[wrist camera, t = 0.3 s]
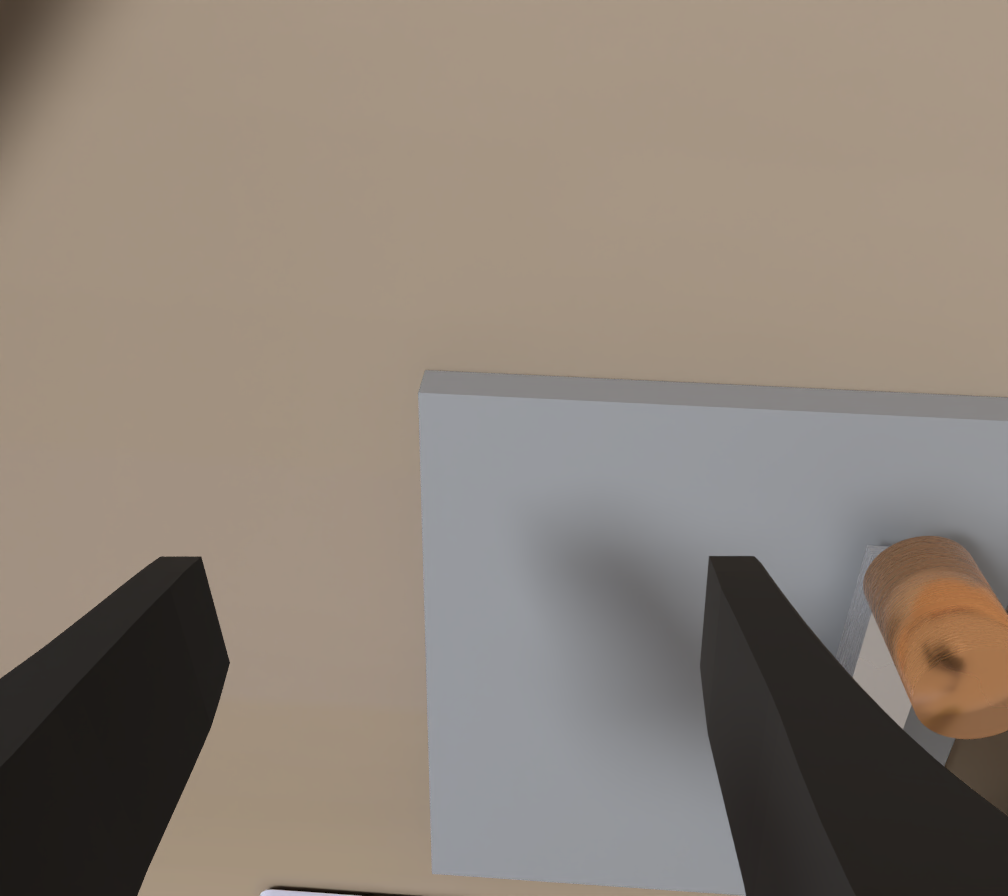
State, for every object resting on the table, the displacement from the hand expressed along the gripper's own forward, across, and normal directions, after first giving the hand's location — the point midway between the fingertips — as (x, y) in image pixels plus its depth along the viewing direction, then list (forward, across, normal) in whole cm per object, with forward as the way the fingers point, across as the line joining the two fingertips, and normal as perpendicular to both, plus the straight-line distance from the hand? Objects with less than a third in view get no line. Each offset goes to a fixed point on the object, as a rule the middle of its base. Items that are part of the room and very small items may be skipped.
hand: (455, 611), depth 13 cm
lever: (+8, -9, +11) cm, 16 cm away
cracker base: (+10, -8, +11) cm, 17 cm away
